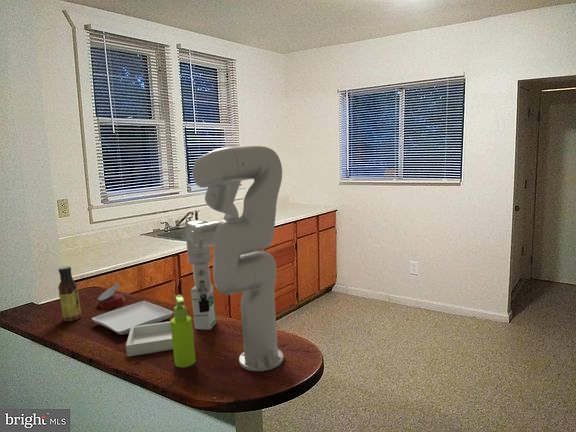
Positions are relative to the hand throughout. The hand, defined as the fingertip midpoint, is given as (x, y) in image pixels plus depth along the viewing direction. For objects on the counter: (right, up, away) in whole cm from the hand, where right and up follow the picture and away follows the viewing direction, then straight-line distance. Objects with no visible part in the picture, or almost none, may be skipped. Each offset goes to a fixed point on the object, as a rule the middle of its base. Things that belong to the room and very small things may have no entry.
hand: (204, 307), depth 144 cm
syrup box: (0, -7, +1) cm, 7 cm away
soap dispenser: (-1, -11, -23) cm, 26 cm away
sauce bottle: (-52, -8, +14) cm, 55 cm away
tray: (-14, -9, -10) cm, 20 cm away
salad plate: (-27, -8, +8) cm, 29 cm away
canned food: (-43, -5, +28) cm, 52 cm away
